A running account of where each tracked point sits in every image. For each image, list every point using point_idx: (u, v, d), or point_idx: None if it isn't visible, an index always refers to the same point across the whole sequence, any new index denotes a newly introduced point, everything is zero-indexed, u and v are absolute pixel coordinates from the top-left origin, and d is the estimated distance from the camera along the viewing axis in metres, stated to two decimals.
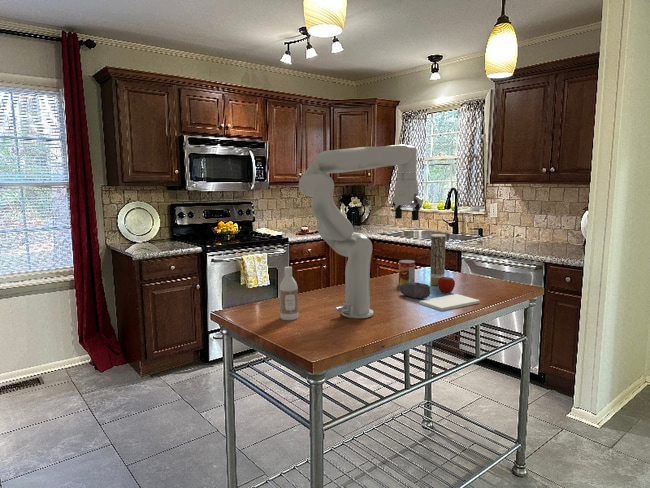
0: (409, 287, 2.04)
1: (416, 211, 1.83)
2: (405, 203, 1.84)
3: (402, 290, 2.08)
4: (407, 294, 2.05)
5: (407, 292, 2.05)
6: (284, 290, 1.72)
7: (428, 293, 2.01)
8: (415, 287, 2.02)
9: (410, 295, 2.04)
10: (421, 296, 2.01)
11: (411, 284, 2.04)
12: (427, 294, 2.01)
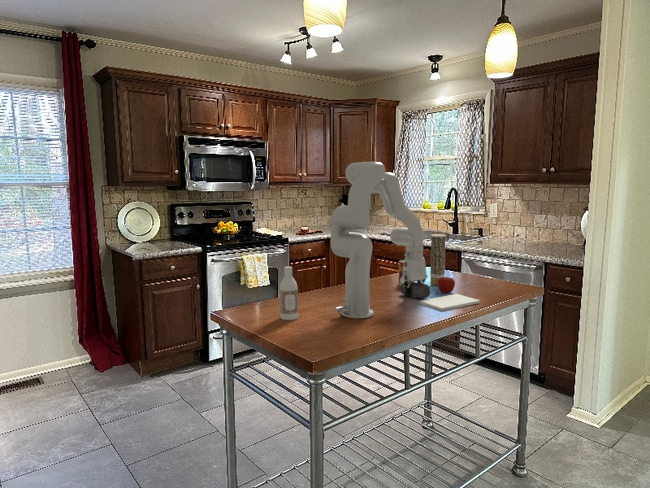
0: None
1: None
2: (421, 278, 2.03)
3: (402, 290, 2.08)
4: None
5: None
6: (284, 290, 1.72)
7: (428, 293, 2.01)
8: (415, 287, 2.02)
9: None
10: (421, 296, 2.01)
11: (411, 284, 2.04)
12: (427, 294, 2.01)
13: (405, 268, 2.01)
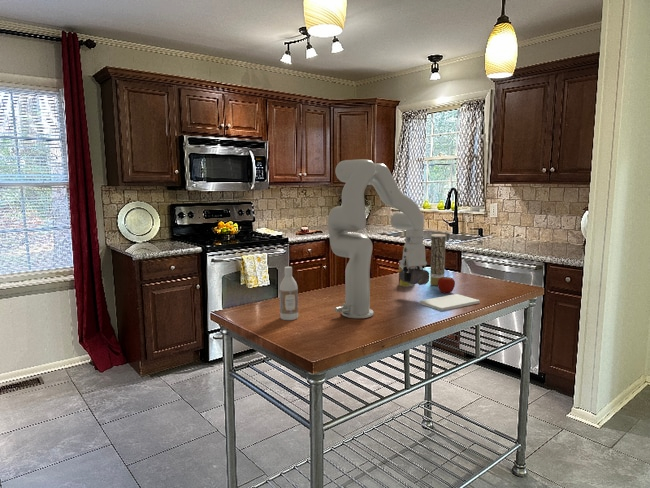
0: None
1: None
2: (421, 264, 2.02)
3: (401, 276, 2.06)
4: None
5: None
6: (284, 290, 1.72)
7: (427, 279, 2.00)
8: (414, 273, 2.00)
9: None
10: (420, 282, 1.99)
11: (410, 270, 2.02)
12: (426, 280, 2.00)
13: (405, 253, 2.00)
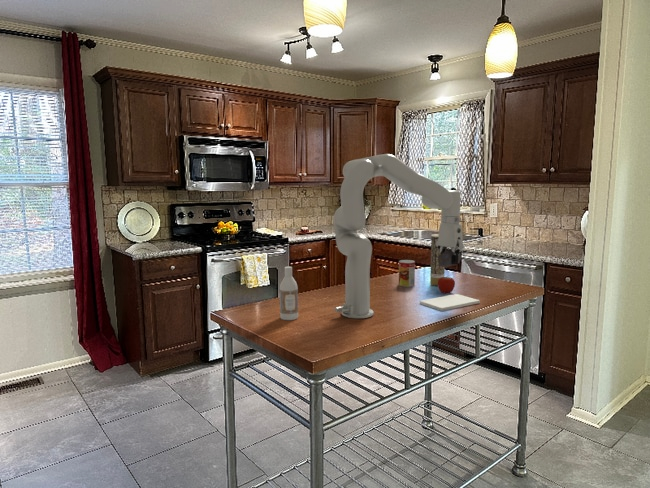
0: None
1: None
2: None
3: (446, 261, 1.88)
4: (451, 264, 1.90)
5: None
6: (284, 290, 1.72)
7: None
8: None
9: None
10: None
11: (452, 252, 1.91)
12: None
13: (458, 234, 1.87)
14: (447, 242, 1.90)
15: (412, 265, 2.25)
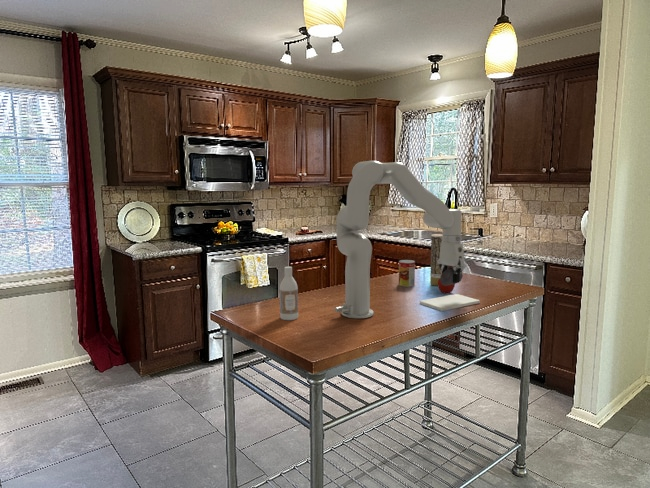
0: None
1: None
2: None
3: (448, 280, 1.89)
4: (452, 282, 1.91)
5: None
6: (284, 290, 1.72)
7: None
8: None
9: None
10: None
11: None
12: None
13: (460, 253, 1.88)
14: (448, 261, 1.90)
15: (412, 265, 2.25)
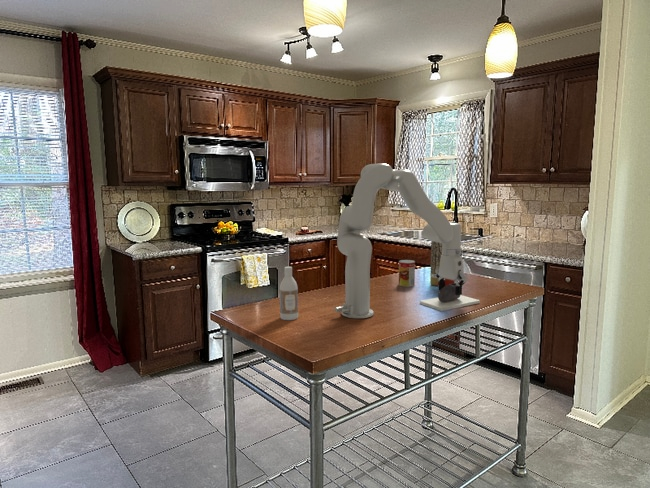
0: (452, 290, 1.92)
1: None
2: None
3: (446, 297, 1.90)
4: (450, 299, 1.92)
5: (451, 296, 1.92)
6: (284, 290, 1.72)
7: None
8: None
9: (453, 298, 1.93)
10: None
11: (452, 287, 1.93)
12: None
13: (459, 267, 1.88)
14: (448, 274, 1.91)
15: (412, 265, 2.25)
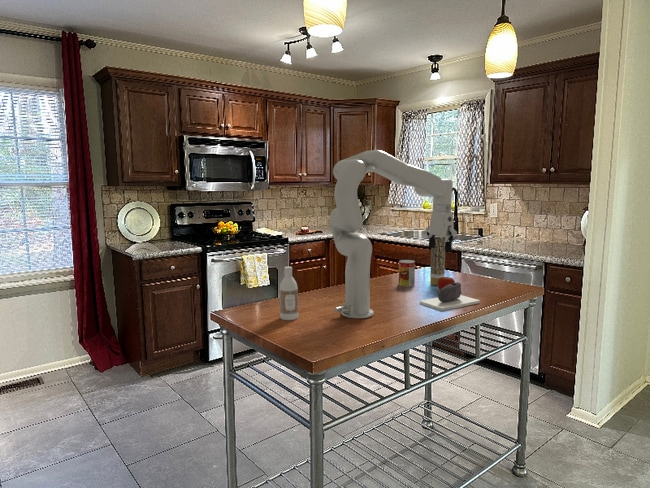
0: (452, 290, 1.92)
1: None
2: None
3: (446, 297, 1.90)
4: (450, 299, 1.92)
5: (451, 296, 1.92)
6: (284, 290, 1.72)
7: None
8: (457, 288, 1.94)
9: (453, 298, 1.93)
10: None
11: (452, 287, 1.93)
12: None
13: (449, 223, 1.88)
14: (438, 230, 1.90)
15: (412, 265, 2.25)
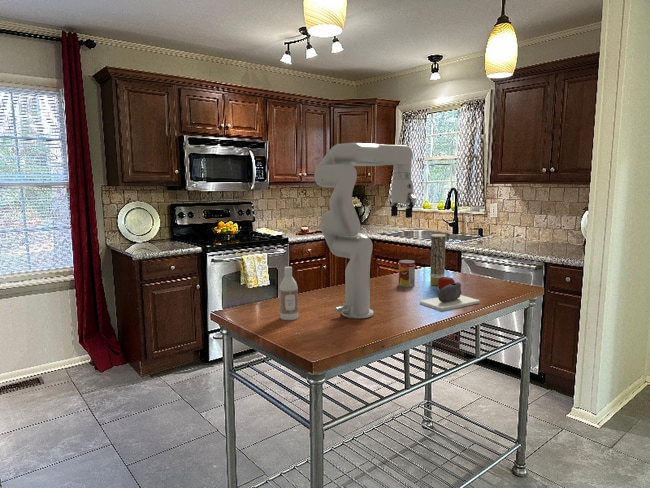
0: (452, 290, 1.92)
1: None
2: None
3: (446, 297, 1.90)
4: (450, 299, 1.92)
5: (451, 296, 1.92)
6: (284, 290, 1.72)
7: None
8: (457, 288, 1.94)
9: (453, 298, 1.93)
10: None
11: (452, 287, 1.93)
12: None
13: (409, 190, 1.93)
14: (399, 198, 1.96)
15: (412, 265, 2.25)
